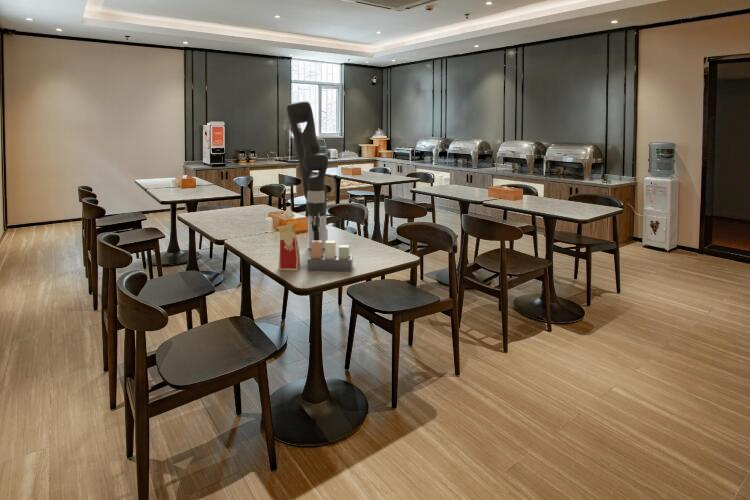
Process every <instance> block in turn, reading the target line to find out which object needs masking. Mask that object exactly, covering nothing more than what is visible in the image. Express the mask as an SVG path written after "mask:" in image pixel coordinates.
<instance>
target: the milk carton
mask: <svg viewBox="0 0 750 500" xmlns="http://www.w3.org/2000/svg"><path fill="white" fill-rule="evenodd" d="M276 228H277V229H278V232H279V257H278V266H277V267H278V270H279V271H298V270H299V268H300V267H301V258H300V257H301V255H300V249H299V242H298V240H297V238H298V237H297V236H296V232H295V228H294V223H290V224H287V225H282V226H278V227H277V226H276Z"/></svg>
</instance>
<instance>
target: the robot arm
mask: <svg viewBox="0 0 750 500" xmlns="http://www.w3.org/2000/svg"><path fill="white" fill-rule="evenodd" d="M286 113H287V118H288V120H289V125H290V128H291V132H292V136H293V140H294V145H295V150H296V156H297V161H298V165H299V169H300V174H301V179H302V180H301V181H302V187H303V195H304V198H305V200H306V202H307V203H306V205H307V206H306V207H307V223H308V224H307V231H308V233H307V234H308V235H307V236H308V243H307V244H308V249H310V250H311V242H312V241H313V240H315V241H318V240H320V241H322V250H325V242H326V241H329V239H328V235H329V234H328V228H327V205H328V204H327V203H328V202H327V201H328V188H327V185H326V184H325V179H326V178H325V177H326V173H327V170H328V167H329V159H328V157H327V155H326V154H325V153H320V151H321V149H320V148H321V147H320V143H319V141H318V137H317V133H316V124H315V119H314V114H313V113H314V112H313V108H312V105H311V104H310V102H309V101H308V100H302V101H298V102H293V103H289V104H287V106H286ZM302 123H303V124H304V123H306V124H305V127H304V129H303V132H302V130H301V129H300V127H299V124H302ZM313 171H315V172H316V171H317V173H316V175H312V174H313Z"/></svg>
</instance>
